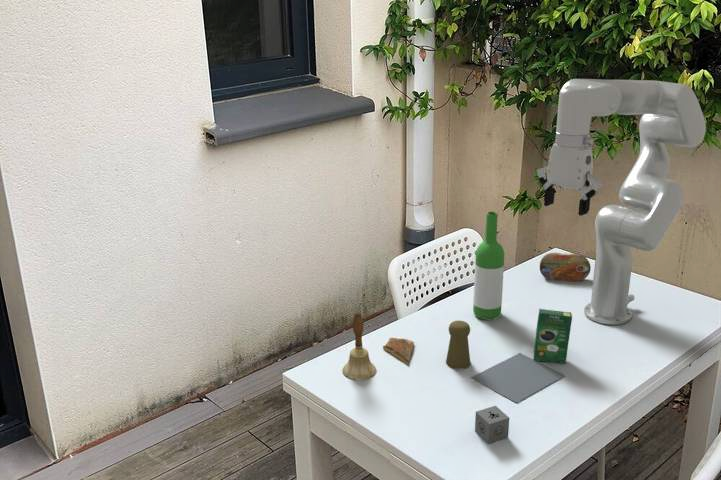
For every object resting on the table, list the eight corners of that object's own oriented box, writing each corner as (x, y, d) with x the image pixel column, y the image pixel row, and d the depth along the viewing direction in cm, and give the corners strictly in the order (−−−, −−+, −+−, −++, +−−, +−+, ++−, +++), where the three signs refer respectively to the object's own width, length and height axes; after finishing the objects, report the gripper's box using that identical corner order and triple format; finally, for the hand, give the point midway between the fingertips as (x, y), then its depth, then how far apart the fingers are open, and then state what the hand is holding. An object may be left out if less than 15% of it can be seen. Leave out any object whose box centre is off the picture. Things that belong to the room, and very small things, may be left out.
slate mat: (519, 353, 192) (519, 352, 192) (565, 375, 182) (565, 375, 182) (470, 378, 182) (470, 377, 181) (516, 403, 171) (516, 402, 171)
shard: (408, 366, 188) (408, 360, 187) (378, 363, 189) (378, 357, 189) (415, 345, 198) (415, 339, 197) (386, 342, 199) (386, 336, 199)
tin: (538, 279, 234) (540, 254, 231) (538, 275, 237) (540, 250, 234) (589, 282, 232) (592, 256, 229) (588, 278, 234) (590, 252, 231)
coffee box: (566, 358, 189) (571, 311, 185) (566, 364, 187) (572, 316, 182) (533, 355, 191) (538, 307, 186) (533, 360, 188) (538, 312, 184)
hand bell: (370, 382, 181) (370, 322, 175) (337, 377, 183) (336, 317, 177) (380, 364, 188) (379, 306, 182) (348, 360, 190) (347, 302, 185)
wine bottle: (487, 323, 207) (493, 220, 196) (467, 313, 213) (471, 212, 202) (506, 315, 212) (513, 213, 201) (486, 305, 217) (491, 206, 207)
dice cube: (488, 444, 158) (489, 424, 156) (474, 431, 162) (475, 411, 160) (508, 437, 160) (509, 417, 158) (494, 425, 164) (495, 405, 162)
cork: (456, 354, 192) (457, 315, 188) (475, 362, 188) (477, 322, 184) (440, 362, 188) (441, 323, 184) (460, 371, 184) (461, 331, 180)
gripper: (614, 143, 174) (606, 214, 180) (550, 131, 186) (544, 198, 192) (595, 149, 169) (588, 221, 175) (531, 136, 181) (526, 204, 187)
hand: (565, 209), depth 184 cm, fingers open, 9 cm apart
